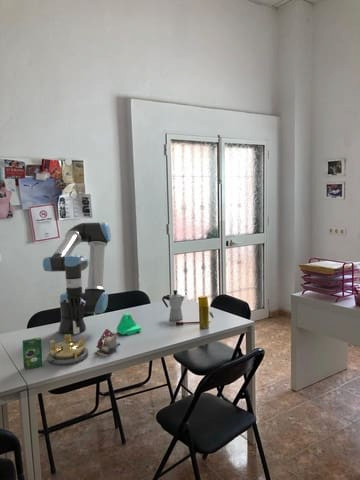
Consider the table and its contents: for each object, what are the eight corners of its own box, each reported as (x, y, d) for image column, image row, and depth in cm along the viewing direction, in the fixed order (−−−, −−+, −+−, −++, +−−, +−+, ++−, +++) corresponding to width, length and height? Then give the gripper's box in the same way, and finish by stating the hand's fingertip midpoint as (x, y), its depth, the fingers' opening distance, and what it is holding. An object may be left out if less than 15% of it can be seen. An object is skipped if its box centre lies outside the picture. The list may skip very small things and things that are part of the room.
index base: (38, 360, 185) (38, 350, 185) (69, 346, 201) (68, 337, 201) (66, 368, 175) (66, 358, 175) (96, 353, 191) (95, 344, 191)
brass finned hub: (49, 361, 179) (48, 347, 178) (52, 348, 194) (51, 335, 193) (84, 357, 182) (84, 343, 182) (84, 344, 198) (84, 332, 197)
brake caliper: (108, 339, 204) (116, 324, 198) (119, 355, 199) (127, 341, 193) (90, 345, 196) (97, 330, 190) (101, 363, 191) (109, 348, 185)
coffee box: (42, 363, 182) (40, 336, 180) (43, 365, 179) (41, 338, 178) (23, 367, 178) (21, 340, 176) (24, 370, 175) (22, 342, 174)
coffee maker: (186, 316, 247) (186, 288, 245) (185, 320, 238) (184, 292, 236) (163, 316, 249) (162, 288, 247) (161, 320, 240) (160, 292, 238)
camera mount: (122, 336, 215) (121, 318, 213) (116, 332, 221) (115, 315, 220) (141, 332, 221) (141, 314, 220) (135, 328, 227) (135, 311, 226)
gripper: (58, 287, 190) (61, 333, 193) (79, 289, 185) (81, 337, 187) (69, 284, 197) (71, 329, 199) (89, 285, 191) (91, 332, 194)
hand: (76, 333), depth 193 cm, fingers closed
